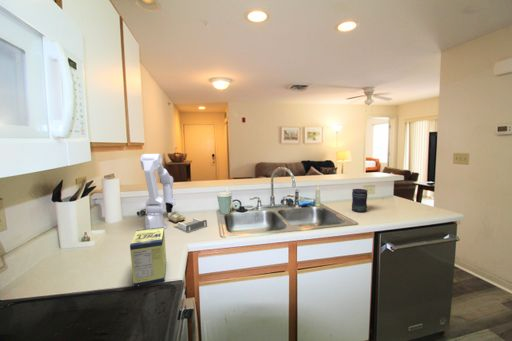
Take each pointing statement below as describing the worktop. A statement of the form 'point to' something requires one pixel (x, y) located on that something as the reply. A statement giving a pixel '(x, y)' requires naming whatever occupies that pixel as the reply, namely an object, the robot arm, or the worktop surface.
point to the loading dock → (191, 225)
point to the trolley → (175, 216)
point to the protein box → (148, 256)
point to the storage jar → (359, 200)
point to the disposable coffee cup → (224, 201)
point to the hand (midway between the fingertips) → (169, 213)
